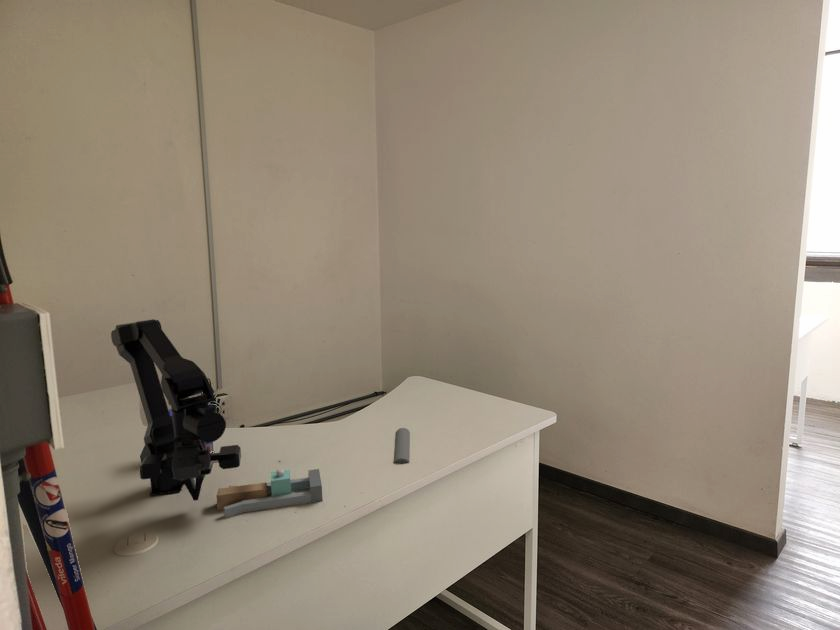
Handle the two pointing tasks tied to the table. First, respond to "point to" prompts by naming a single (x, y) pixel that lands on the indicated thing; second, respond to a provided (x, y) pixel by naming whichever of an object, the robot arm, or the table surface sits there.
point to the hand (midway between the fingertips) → (196, 499)
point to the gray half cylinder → (402, 446)
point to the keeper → (280, 482)
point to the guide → (282, 496)
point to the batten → (240, 494)
